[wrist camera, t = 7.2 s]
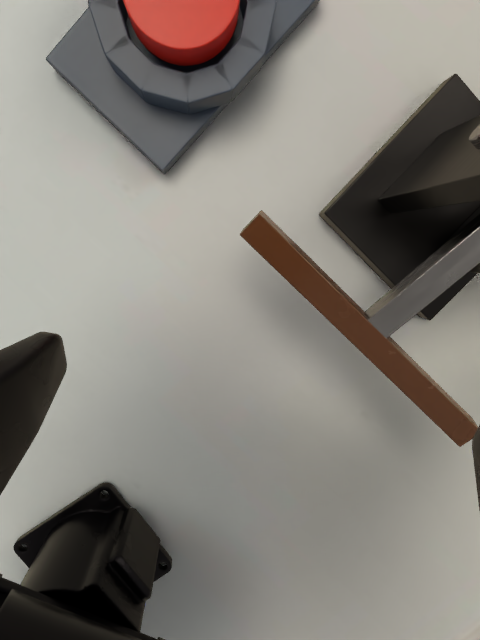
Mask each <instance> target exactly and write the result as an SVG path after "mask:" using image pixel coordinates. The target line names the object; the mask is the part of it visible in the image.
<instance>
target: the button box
mask: <svg viewBox="0 0 480 640" xmlns="http://www.w3.org/2000/svg"><path fill="white" fill-rule="evenodd" d="M318 2H319V0H240V5H239V13H238V20H237V24H236V28H235V31H234V33H233V35H232V37H231V39H230V41H229V43H228V44H227V45H226V46H225V48H224V49H223V50H222V51H221V52H220V53H219V54H218V55H216V56H215V57H214V58H212V59H210V60H208V61H206V62H204V63H201V64H197V65H192V66H180V65H175V64H171V63H168V62H165V61H163V60H161V59H159V58H158V57H156V56H155V55H153V54H152V53H151V52H150V51H149V50H148V49H147V48H146V47H145V46H144V45H143V44H142V43H141V41H140V40H139V38H138V37H137V35H136V33H135V31H134V29H133V26H132V24H131V21H130V18H129V16H128V13H127V10H126V7H125V5H124V2H123V0H88V4H89V7H88V9H87V10H86V11H85V12H84V13H83V15H82V16H81V17H80V18H79V19H78V20H77V22H76V23H75V24H74V25H73V26H72V28H71V29H70V30H69V31H68V32H67V34H66V35H65V36H64V37H63V38H62V40H61V41H60V42H59V43H58V44H57V45H56V47H55V48H54V49H53V50H52V51H51V53H50V54H49V55H48V56H47V57H46V60H47V61H48V62H49V64H50V65H51V66H52V67H53V68H54V69H55V70H56V71H57V72H58V73H59V74H60V75H61V76H62V77H63V78H64V79H65V80H66V81H68V82H69V83H70V84H71V85H72V86H73V87H74V88H75V89H76V90H77V91H78V92H79V93H80V94H81V95H82V96H83V97H84V98H85V99H86V100H87V101H88V102H89V103H90V104H92V105H93V106H94V107H95V108H96V109H97V110H98V111H99V112H100V113H101V114H102V115H103V116H104V117H105V118H106V119H107V120H108V121H109V122H110V123H111V124H112V125H113V126H114V127H116V128H117V129H118V130H119V131H120V132H121V133H122V134H123V135H124V136H125V137H126V138H127V139H128V140H129V141H130V142H131V143H132V144H133V145H134V146H135V147H136V148H137V149H138V150H140V151H141V152H142V153H143V154H144V155H145V156H146V157H147V158H148V159H149V160H150V161H151V162H152V163H153V164H154V165H155V166H156V167H157V168H158V169H159V170H160V171H161V172H162V173H164V174H166V173H167V172H168V170H169V169H170V168H171V167H172V166H173V165H174V164H175V163H176V161H177V160H178V159H179V158H180V157H181V156H182V155H183V154H184V153H185V151H186V150H187V149H188V148H189V147H190V146H191V145H192V144H193V142H194V141H195V140H196V139H197V138H198V137H199V136H200V135H201V134H202V132H203V131H204V130H205V129H206V128H207V127H208V126H209V125H210V123H211V122H212V121H213V120H214V119H215V118H216V117H217V116H218V115H219V113H220V112H221V111H222V110H223V109H224V108H225V107H226V106H227V104H228V103H230V102H232V101H233V100H234V99H235V97H236V96H237V95H238V94H239V93H240V92H241V91H242V90H243V88H244V87H245V86H246V85H247V84H248V83H249V82H250V81H251V80H252V78H253V77H254V76H255V75H256V74H257V73H258V72H259V71H260V69H261V67H262V65H263V64H264V63H265V62H266V61H267V60H268V59H269V58H270V56H271V55H272V54H273V53H274V52H275V51H276V50H277V49H278V47H279V46H280V45H281V44H282V43H283V42H284V41H285V40H286V39H287V37H288V36H289V35H290V34H291V33H292V32H293V31H294V30H295V28H296V27H297V26H298V25H299V24H300V23H301V22H302V21H303V19H304V18H305V17H306V16H307V15H308V14H309V13H310V12H311V11H312V9H313V8H314V7H315V6H316V5H317V4H318Z"/></svg>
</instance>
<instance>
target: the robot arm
mask: <svg viewBox="0 0 480 640" xmlns="http://www.w3.org/2000/svg"><path fill="white" fill-rule="evenodd" d="M66 368H67V362H66V356H65V351H64V346H63V341H62V338H61V336H60V335H58V334H54V333H48V332H39V333H37V334H34V335H32V336H30V337H28V338H26V339H24V340H21V341H19V342H17V343H15V344H13V345H11V346H9V347H6V348H4V349H2V350H0V495H1V493H2V491H3V490H4V488H5V486H6V485H7V483H8V481H9V480H10V478H11V476H12V475H13V473H14V471H15V470H16V468H17V467H18V465H19V463H20V462H21V460H22V458H23V457H24V455H25V453H26V452H27V450H28V448H29V447H30V445H31V443H32V442H33V440H34V438H35V436H36V435H37V433H38V431H39V429H40V427H41V425H42V423H43V421H44V418H45V416H46V414H47V412H48V410H49V408H50V405H51V403H52V401H53V399H54V397H55V395H56V392H57V390H58V388H59V386H60V384H61V381H62V379H63V377H64V375H65V372H66ZM472 450H473V458H474V467H475V476H476V484H477V493H478V502H479V509H480V426H479V427H478V429H477V431H476V433H475V434H474V437H473V441H472ZM103 490H104V491H107V492H108V493H109V494H108V495H104V494H102V492H101V491H103ZM22 544H25V545H27V547H23V546H22ZM14 551H15V553H16V554H17V555H18V556H19V557H20V558H21V559H22V561H23V562H24V563H25V564H26V565H27V566H28V567H29V570H28V572H27V574H26V575H25V577H24V579H23V581H22V583H21V585H19V584H17V583H14V582H12V581H9V580H7V579H4V578H2V574H0V640H165V639H163V638H160V637H158V639H155V638H153V637H150V636H148V635H145V634H143V633H140V630H141V624H142V618H143V613H144V607H145V602H146V600H148V599H149V598H150V597H151V593H152V588H153V582H154V581H156V580H157V579H159V578H160V577H162V576H163V575H165V574H166V573H168V572H169V571H170V570H171V567H172V559H171V557H170V556H169V554H168V553H167V552H166V551H165V549H164V548H163V547H162V546H161V544H160V539H159V537H158V536H157V535H156V534H155V532H154V531H153V530H152V529H151V528H150V526H149V525H148V524H147V523H146V521H145V520H144V519H143V518H142V516H141V515H140V514H139V513H138V511H137V510H136V509H134V508H131V507H130V506H129V505H128V504H127V502H126V501H125V500H124V499H123V497H122V496H121V495H120V494H119V492H118V491H117V490H116V489H115V487H114V486H113V485H112V484H110V483H102V484H100V485H98V486H97V487H95V488H94V489H92V490H91V491H89V492H87V493H86V494H84V495H83V496H81V497H80V498H78V499H77V500H75V501H74V502H72V503H71V504H69V505H68V506H66V507H65V508H63V509H62V510H60V511H59V512H57V513H56V514H54V515H53V516H51V517H50V518H48V519H46V520H45V521H43V522H42V523H40V524H39V525H37V526H36V527H34V528H33V529H31V530H30V531H28V532H27V533H25V534H24V535H22V536H21V537H20V538H18V540H17V541H16V543H15V545H14ZM162 562H164V563H166V565H161V564H160V563H162Z"/></svg>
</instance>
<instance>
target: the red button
mask: <svg viewBox="0 0 480 640" xmlns="http://www.w3.org/2000/svg"><path fill="white" fill-rule="evenodd" d="M123 2H124V5H125V7H126V10H127V13H128V16H129V18H130V21H131V24H132V26H133V29H134V31H135V33H136V35H137V37H138V38H139V40H140V41H141V43H142V44H143V45H144V46H145V47H146V48H147V49H148V50H149V51H150V52H151V53H152V54H153V55H155V56H156V57H158V58H159V59H161V60H163V61H165V62H168V63H171V64H175V65H180V66H192V65H197V64H201V63H204V62H206V61H208V60H210V59H212V58H214V57H215V56H216V55H218V54H219V53H220V52H221V51H222V50H223V49H224V48H225V46H226V45H227V44H228V43H229V41H230V39H231V37H232V35H233V33H234V31H235V28H236V24H237V20H238V13H239V5H240V0H123Z"/></svg>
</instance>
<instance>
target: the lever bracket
mask: <svg viewBox="0 0 480 640" xmlns="http://www.w3.org/2000/svg"><path fill="white" fill-rule="evenodd" d="M479 214H480V101H479V100H478V98H477V97H476V96H475V95H474V94H473V93H472V91H471V90H470V89H469V88H468V87H467V86H466V84H465V83H464V82H463V81H462V80H461V78H460V77H459V76H458V75H457V74H454V75H453V76H451V77H450V78H448V79H447V80H445V81H444V82H443V83H442V84H441V85H440V86H439V87H438V88H437V89H436V90H435V91H434V92H433V93H432V94H431V95H430V96H429V98H428V99H427V100H426V101H425V102H424V103H423V104H422V105H421V106H420V107H419V108H418V109H417V110H416V111H415V112H414V113H413V115H412V116H411V117H410V118H409V119H408V120H407V121H406V122H405V123H404V124H403V125H402V126H401V127H400V128H399V129H398V130H397V132H396V133H395V134H394V135H393V136H392V137H391V138H390V139H389V140H388V141H387V142H386V143H385V144H384V145H383V146H382V147H381V148H380V150H379V151H378V152H377V153H376V154H375V155H374V156H373V157H372V158H371V159H370V160H369V161H368V162H367V163H366V164H365V165H364V167H363V168H362V169H361V170H360V171H359V172H358V173H357V174H356V175H355V176H354V177H353V178H352V179H351V180H350V181H349V182H348V184H347V185H346V186H345V187H344V188H343V189H342V190H341V191H340V192H339V193H338V194H337V195H336V196H335V197H334V198H333V199H332V201H331V202H330V203H329V204H328V205H327V206H326V207H325V208H324V209H323V210H322V211H321V212H320V213H319V215H320V216H321V217H322V218H323V219H324V220H325V221H326V222H327V223H328V224H329V225H330V226H331V227H332V228H333V230H334V231H335V232H336V233H337V234H338V235H339V236H340V237H341V238H342V239H343V240H344V241H345V242H346V243H347V244H348V245H349V246H350V247H351V248H352V249H353V250H354V251H355V252H356V253H357V254H358V255H359V256H360V257H361V258H362V259H363V260H364V261H365V262H366V263H367V264H368V265H369V266H370V267H371V268H372V269H373V270H374V271H375V272H376V273H377V274H378V275H379V276H380V277H381V278H382V279H383V280H384V281H385V282H386V283H387V284H388V285H389V286H390V287H391V288H393V287H395V286H396V285H397V284H398V283H399V282H400V281H402V280H403V279H404V278H405V277H406V276H407V275H409V274H410V273H411V272H412V271H413V270H414V269H416V268H417V267H418V266H419V265H420V264H421V263H423V262H424V261H425V260H426V259H427V258H429V257H430V256H431V255H432V254H433V253H434V252H436V251H437V250H438V249H439V248H440V247H441V246H443V245H444V244H445V243H446V242H447V241H448V240H450V239H451V238H452V237H453V236H454V235H455V234H457V233H458V232H459V231H460V230H461V229H463V228H464V227H465V226H466V225H467V224H468V223H470V222H471V221H472V220H473V219H474V218H475V217H477V216H478V215H479ZM477 273H480V263H479V264H477V265H476V266H475V267H474V268H473V269H471V270H470V271H469V272H468V273H466V274H465V275H464V276H463V277H461V278H460V279H459V280H458V281H457V282H455V283H454V284H453V285H452V286H450V287H449V288H448V289H447V290H445V291H444V292H443V293H442V294H440V295H439V296H438V297H437V298H436V299H434V300H433V301H432V302H431V303H429V304H428V305H427V306H426V307H424V308H423V309H422V310H421V311H419V312H418V313H417V315H418V316H419V317H421V318H424V319H427V320H431V319H432V318H433V317H434V316H435V315H436V314H437V313H438V312H439V311H440V310H441V309H442V308H443V307H444V306H445V305H446V304H447V303H448V302H449V301H450V300H451V299H452V298H453V297H454V296H455V295H456V294H457V293H458V292H459V291H460V290H461V289H462V288H463V287H464V286H465V285H466V284H467V283H468V282H469V281H470V280H471V279H472V278H473V277H474V276H475V275H476V274H477Z"/></svg>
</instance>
